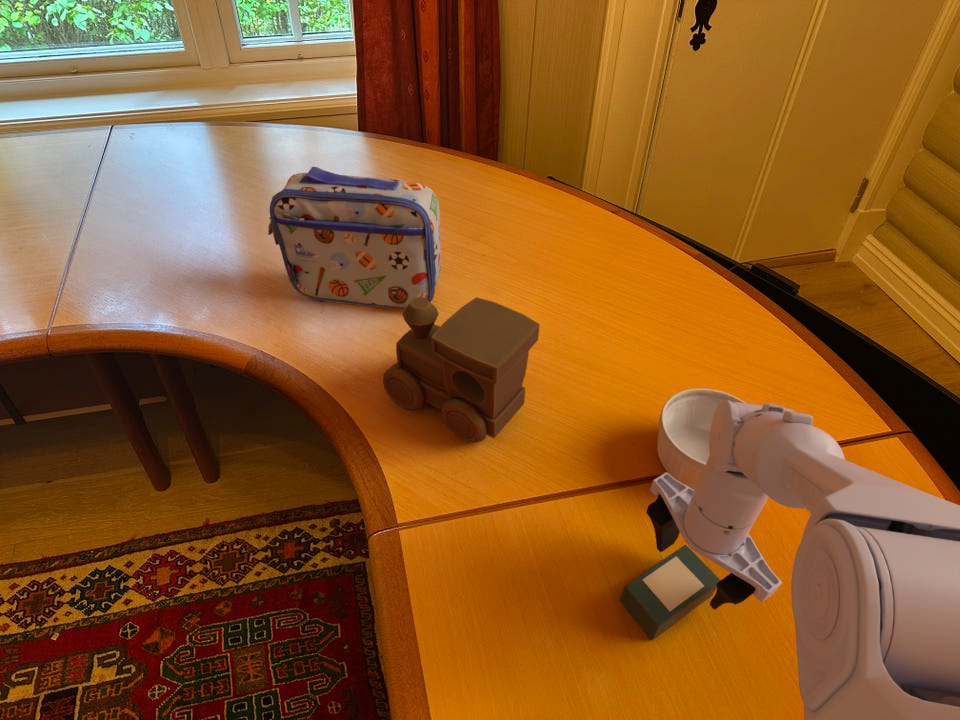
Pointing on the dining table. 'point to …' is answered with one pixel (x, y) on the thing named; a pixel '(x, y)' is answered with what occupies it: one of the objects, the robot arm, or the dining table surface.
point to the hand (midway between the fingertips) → (690, 573)
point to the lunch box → (358, 238)
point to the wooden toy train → (463, 365)
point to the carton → (669, 591)
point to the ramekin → (688, 432)
